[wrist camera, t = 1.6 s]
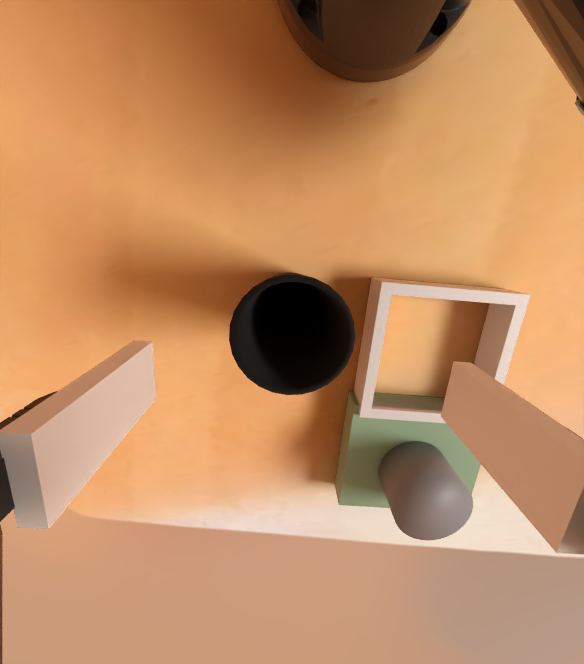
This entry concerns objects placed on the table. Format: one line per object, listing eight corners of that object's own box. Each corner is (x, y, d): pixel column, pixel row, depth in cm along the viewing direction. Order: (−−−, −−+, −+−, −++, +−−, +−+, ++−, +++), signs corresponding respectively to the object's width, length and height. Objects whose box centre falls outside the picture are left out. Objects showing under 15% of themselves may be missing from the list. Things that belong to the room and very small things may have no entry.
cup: (263, 347, 32) (250, 408, 20) (240, 273, 30) (211, 295, 18) (337, 327, 32) (366, 378, 20) (319, 251, 29) (340, 259, 18)
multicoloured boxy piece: (366, 276, 30) (393, 289, 22) (508, 289, 31) (582, 305, 23) (334, 484, 37) (347, 548, 29) (452, 491, 37) (495, 556, 30)
